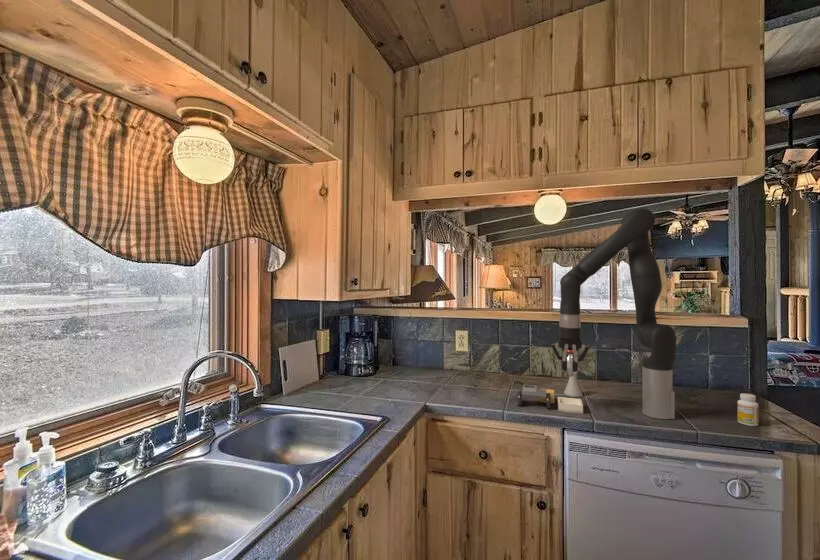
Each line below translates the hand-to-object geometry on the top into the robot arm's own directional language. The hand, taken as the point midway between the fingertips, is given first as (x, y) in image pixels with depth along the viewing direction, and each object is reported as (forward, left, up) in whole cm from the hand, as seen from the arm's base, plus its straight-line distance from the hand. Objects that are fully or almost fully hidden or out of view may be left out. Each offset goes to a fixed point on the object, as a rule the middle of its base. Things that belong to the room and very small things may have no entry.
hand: (569, 371), depth 144 cm
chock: (+8, -7, -15) cm, 18 cm away
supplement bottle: (-57, -4, -15) cm, 59 cm away
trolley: (+13, 0, -15) cm, 19 cm away
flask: (-3, -19, -15) cm, 24 cm away
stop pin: (0, 0, -2) cm, 2 cm away
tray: (0, 0, -15) cm, 15 cm away
